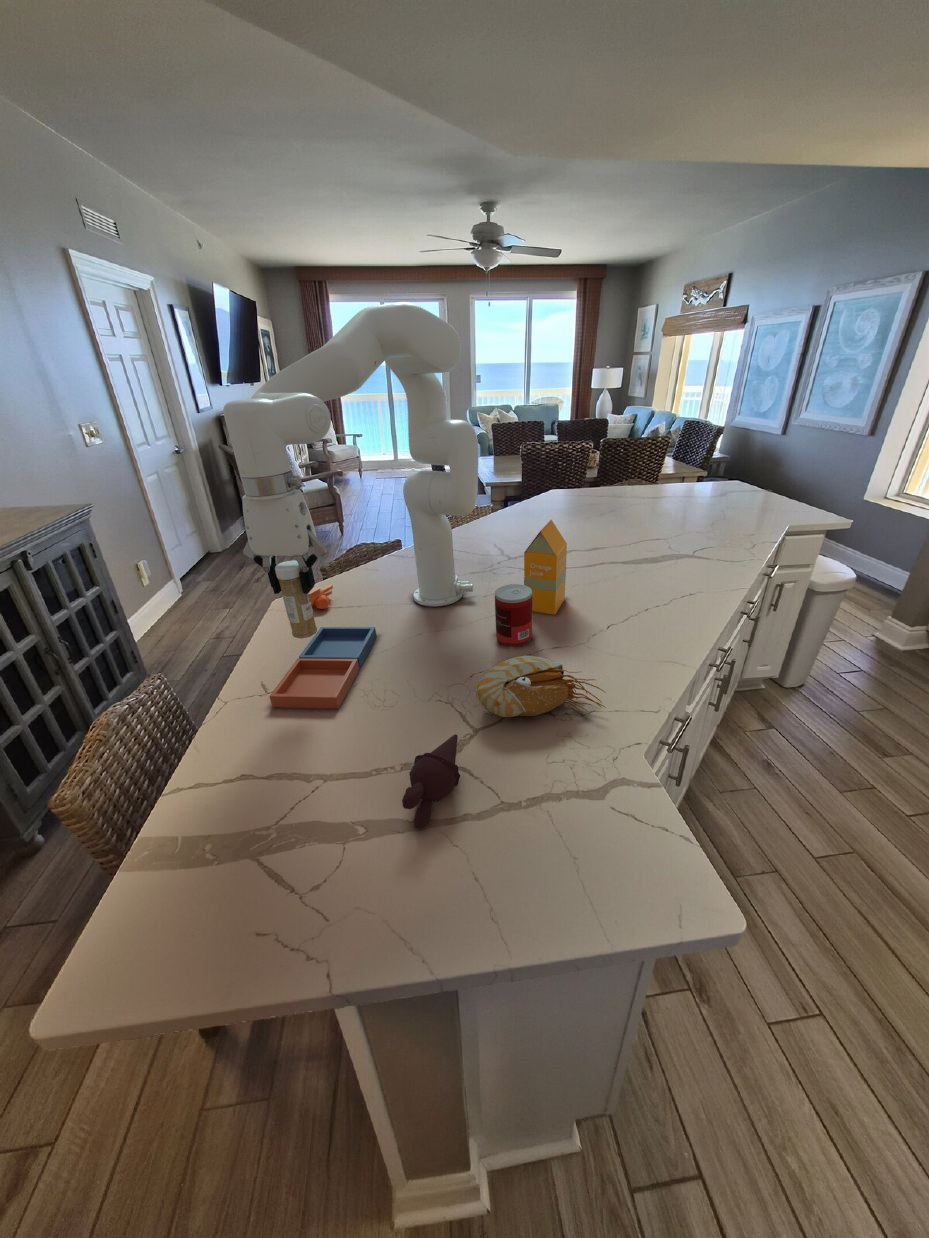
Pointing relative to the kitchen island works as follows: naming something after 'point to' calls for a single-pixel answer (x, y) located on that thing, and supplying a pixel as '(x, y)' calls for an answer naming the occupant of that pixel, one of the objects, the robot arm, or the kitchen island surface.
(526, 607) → the canned food
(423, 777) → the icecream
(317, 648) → the slate tray
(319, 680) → the terracotta tray
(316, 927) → the kitchen island surface
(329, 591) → the orange toy motorcycle
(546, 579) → the orange juice
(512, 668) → the nautilus
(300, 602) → the sprinkles bottle
